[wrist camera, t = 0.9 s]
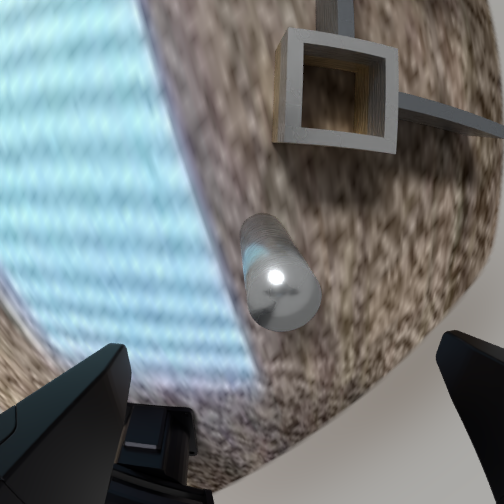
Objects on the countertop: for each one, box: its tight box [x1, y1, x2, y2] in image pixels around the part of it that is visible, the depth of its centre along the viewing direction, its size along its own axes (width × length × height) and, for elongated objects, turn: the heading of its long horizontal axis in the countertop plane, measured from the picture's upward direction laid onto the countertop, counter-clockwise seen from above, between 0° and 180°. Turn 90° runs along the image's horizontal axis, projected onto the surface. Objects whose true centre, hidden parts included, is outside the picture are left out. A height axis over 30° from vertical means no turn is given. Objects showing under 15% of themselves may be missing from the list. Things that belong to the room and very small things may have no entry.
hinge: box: [272, 0, 504, 154], centre depth 13 cm, size 15×13×4 cm
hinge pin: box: [240, 213, 322, 332], centre depth 15 cm, size 3×3×8 cm
